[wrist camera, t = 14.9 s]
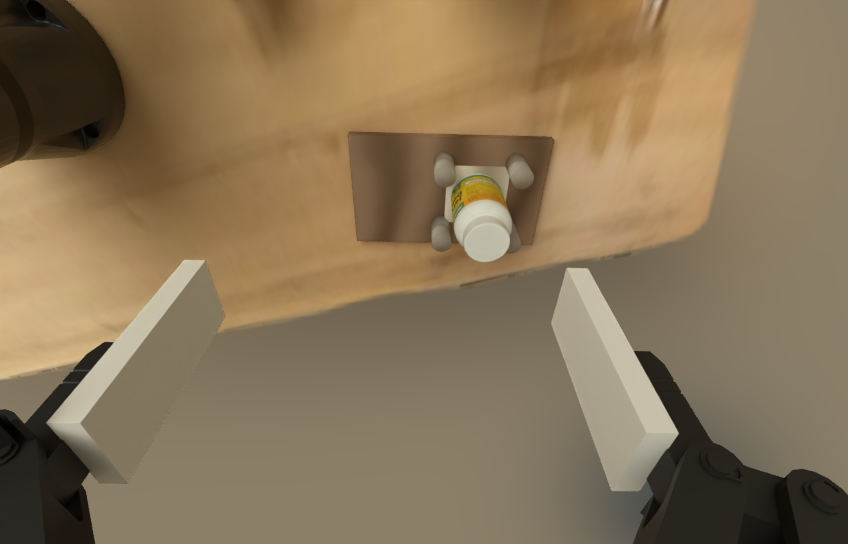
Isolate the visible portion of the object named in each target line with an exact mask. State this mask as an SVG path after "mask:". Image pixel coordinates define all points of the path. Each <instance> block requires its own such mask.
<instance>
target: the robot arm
mask: <svg viewBox="0 0 848 544" xmlns="http://www.w3.org/2000/svg"><path fill="white" fill-rule="evenodd" d="M123 114H124V91H123V86H122V82H121V78H120V75H119V72H118V70H117V67H116V65H115V63H114V61H113V59H112V57H111V55H110V53H109V51H108V49H107V48H106V46H105V44H104V43H103V41H102V40H101V38H100V37H99V36H98V34H97V33H96V32H95V30H94V29H93V28H92V27H91V25H90V24H89V23H88V22H87V21H86V20H85V18H84V17H83V16H82V15H81V14H80V13H79V12H78V11H77V10H76V9H75V8H74V7H73V6H71V5H70V4H69V3H68V2H67V1H66V0H0V168H2V167H4V166H6V165H8V164H10V163H13V162H15V161H21V160H37V159H53V158H67V157H74V156H78V155H81V154H84V153H87V152H89V151H91V150H93V149H95V148H97V147H99V146H101V145H103V144H104V143H106V142H107V141H108V140H110V139H111V138H112V137H113V136H114V135H115V133H116V132H117V130H118V129H119V127H120V125H121V122H122V119H123ZM224 319H225V314H224V311H223V308H222V306H221V303H220V300H219V297H218V294H217V291H216V289H215V286H214V283H213V280H212V277H211V274H210V272H209V269H208V266H207V263H206V260H184V261H183V262H182V263H181V264H180V265H179V266H178V268H177V269H176V270H175V271H174V272H173V274H172V275H171V276H170V277H169V278H168V279H167V281H166V282H165V283H164V284H163V285H162V287H161V288H160V289H159V290H158V291H157V292H156V294H155V295H154V296H153V297H152V298H151V300H150V301H149V302H148V303H147V304H146V305H145V307H144V308H143V309H142V310H141V311H140V313H139V314H138V315H137V316H136V317H135V318H134V320H133V321H132V322H131V323H130V324H129V326H128V327H127V328H126V329H125V330H124V332H123V333H122V334H121V335H120V336H119V337H118V339H117V340H116V341H115V342H104V343H102V344H101V345H100V346H98V347H97V348H95V349H94V350H92V351H91V352H89V353H88V354H87V355H86V356H85V357H84V358H83V359H82V360H81V361H80V362H79V363H78V365H77V366H76V367H75V368H74V371H73V372H70V374H69V375H68V376H67V377H66V378H65V379H64V380H63V384H60V385H59V386H58V387H57V388H56V389H55V390H54V391H53V393H52V394H51V395H50V396H49V397H48V398H47V399H46V400H45V402H44V403H43V404H42V405H41V406H40V407H39V408H38V409H37V411H36V412H35V413H34V414H33V415H32V416H31V417H30V418H29V420H28V421H27V422H26V423H25V424H24V423H23V422H22V421H21V420H20V419H19V417H18V416H17V415H16V414H15V413H14V412H12V411H9V410H6V409H4V410H0V544H95V540H94V535H93V530H92V524H91V518H90V512H89V507H88V501H87V495H86V491H85V489H84V487H83V486H82V485H81V484H82V482H83V481H84V479H85V478H86V476H87V475H88V473H89V472H90V473H91V474H92V475H93V476H94V478H95V479H96V480H97V481H98V482H99V483H117V484H118V483H120V484H128V483H129V481H130V480H131V478H132V476H133V475H134V473H135V471H136V469H137V468H138V466H139V464H140V463H141V461H142V459H143V457H144V455H145V454H146V452H147V451H148V449H149V447H150V445H151V444H152V442H153V440H154V439H155V437H156V435H157V433H158V432H159V430H160V428H161V426H162V425H163V423H164V421H165V420H166V418H167V416H168V415H169V413H170V411H171V409H172V408H173V406H174V404H175V402H176V401H177V399H178V397H179V396H180V394H181V392H182V390H183V389H184V387H185V385H186V384H187V382H188V380H189V378H190V377H191V375H192V373H193V371H194V370H195V368H196V367H197V365H198V363H199V361H200V360H201V358H202V356H203V355H204V353H205V351H206V349H207V348H208V346H209V344H210V343H211V341H212V339H213V337H214V336H215V334H216V332H217V331H218V329H219V327H220V325H221V324H222V322H223V320H224ZM551 324H552V327H553V330H554V333H555V335H556V338H557V341H558V344H559V346H560V349H561V352H562V355H563V357H564V360H565V363H566V366H567V369H568V371H569V374H570V377H571V380H572V382H573V385H574V388H575V391H576V393H577V396H578V399H579V402H580V404H581V407H582V410H583V413H584V416H585V418H586V421H587V424H588V427H589V429H590V432H591V435H592V438H593V441H594V443H595V446H596V449H597V452H598V454H599V457H600V460H601V463H602V465H603V468H604V471H605V474H606V476H607V479H608V482H609V485H610V488H611V490H612V491H640V489H641V488H642V487H643V485H644V484H645V482H646V481H648V483H649V485H650V487H651V490H652V492H653V494H654V495H653V496H652V497H651V499H650V500H649V501H648V503H647V504H646V506H645V507H644V508H643V510H642V511H641V514H643V515H644V516H643V519H642V522H641V524H640V527H639V529H638V532H637V534H636V537H635V539H634V542H633V544H848V495H847V494H846V493H845V492H844V490H843V489H842V488H840V487H839V486H838V485H836V484H835V483H834V482H832V481H831V480H829V479H828V478H826V477H824V476H822V475H820V474H818V473H816V472H813V471H808V470H805V469H798V470H792V471H791V472H790V473H789V474H788V475H787V476H786V477H785V478H782V477H779V476H776V475H772V474H769V473H766V472H762V471H759V470H756V469H752V468H749V467H747V466H744V465H743V464H742V462H741V461H740V460H739V459H738V458H737V457H736V456H735V455H734V454H733V453H731V452H730V451H728V450H727V449H726V448H724V447H722V446H720V445H718V444H715V443H713V442H712V441H711V439H710V438H709V436H708V435H707V433H706V431H705V430H704V428H703V426H702V425H701V423H700V422H699V420H698V418H697V417H696V415H695V413H694V412H693V410H692V408H691V407H690V405H689V404H688V402H687V400H686V399H685V397H684V396H683V394H681V391H680V389H679V387H678V386H677V384H676V382H674V381H673V378H672V376H671V374H670V373H669V371H668V369H667V368H666V367H665V365H664V364H663V363H662V362H661V361H660V360H659V359H658V358H657V357H656V356H655V355H653V354H652V353H651V352H650V351H649V352H648V351H633V349H632V348H631V346H630V344H629V343H628V341H627V339H626V337H625V335H624V333H623V331H622V330H621V328H620V326H619V324H618V322H617V320H616V319H615V317H614V315H613V313H612V312H611V310H610V308H609V306H608V304H607V303H606V301H605V299H604V297H603V296H602V294H601V292H600V290H599V288H598V286H597V284H596V283H595V281H594V279H593V277H592V275H591V273H590V272H589V270H588V269H586V268H567V269H566V273H565V276H564V280H563V284H562V287H561V291H560V294H559V298H558V301H557V305H556V308H555V312H554V315H553V319H552V323H551Z"/></svg>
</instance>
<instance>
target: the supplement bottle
mask: <svg viewBox="0 0 848 544" xmlns="http://www.w3.org/2000/svg"><path fill="white" fill-rule="evenodd" d="M451 206H452V215H453V224H454V232H455V235H456V238H457V240H458V241H459V243H460V244H461V245H462V246H463V247H464V249H465V251H466V253H467V254H468V256H469V257H471V258H472V259H474V260H476V261H479V262H491V261H494V260H497V259H499V258H500V257H502V256H503V255H504V254H505V253H506V251H507V250H508V248H509V245H510V234H511V231H512V218H511V215H510V213H509V210H508V207H507V205H506V202H505V199H504V196H503V193H502V191H501V188H500V186H499V184H498V183H497V182H496V181H495V180H494V179H493V178H492V177H490V176H488V175H485V174H480V173H476V174H470V175H468V176H465V177H464V178H462V179H461V180H460V181H459V182H458V183H457V184H456V185H455V186H454V188H453V190H452V194H451Z"/></svg>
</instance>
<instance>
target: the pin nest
mask: <svg viewBox="0 0 848 544" xmlns="http://www.w3.org/2000/svg"><path fill="white" fill-rule="evenodd" d="M348 141H349V153H350V165H351V177H352V189H353V201H354V212H355V224H356V236H357V241H387V242H432V247H433V248H434V249H435V250H436V251H440V252H443V251H446V250H448V249H449V248H450V246H451V243H459V241H458V240H457V238H456V235H455V232H454V224H453V215H452V206H451V194H452V190H453V188H454V186H455V185H456V184H457V183H458V182H459V181H460V180H461V179H462V178H464V177H465V176H468V175H470V174H476V173H480V174H485V175H488V176H490V177H492V178H493V179H494V180H495V181H496V182H497V183H498V184H499V186H500V188H501V191H502V193H503V196H504V199H505V202H506V205H507V207H508V210H509V213H510V215H511V218H512V231H511V234H510V245H509V248H508V250H507V251H506V253H514V252H516V251H518V250H519V248H520V247H521V244H522V245H532V241H533V236H534V232H535V227H536V222H537V218H538V213H539V208H540V203H541V199H542V194H543V189H544V185H545V180H546V175H547V171H548V166H549V161H550V157H551V152H552V147H553V142H554V140H553V138H552V137H535V136H496V135H457V134H418V133H380V132H349V134H348Z"/></svg>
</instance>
